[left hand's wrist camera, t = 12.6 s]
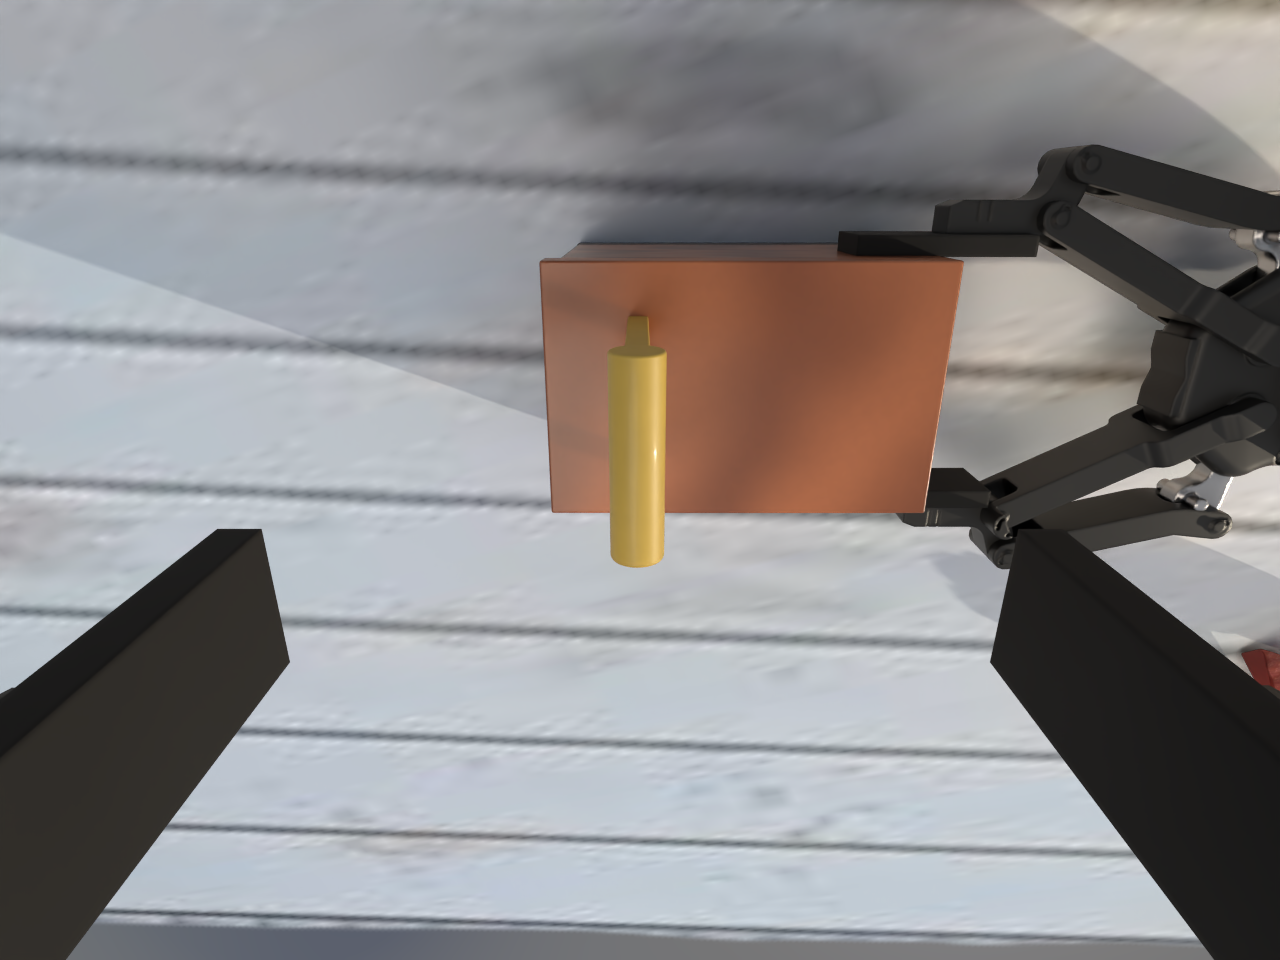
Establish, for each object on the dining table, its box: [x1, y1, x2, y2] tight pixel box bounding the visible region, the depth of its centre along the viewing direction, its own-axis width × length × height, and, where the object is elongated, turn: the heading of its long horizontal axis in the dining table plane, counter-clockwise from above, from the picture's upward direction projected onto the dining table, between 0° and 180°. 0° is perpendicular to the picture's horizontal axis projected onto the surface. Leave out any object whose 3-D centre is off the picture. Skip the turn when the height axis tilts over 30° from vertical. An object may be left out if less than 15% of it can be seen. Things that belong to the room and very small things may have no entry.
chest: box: [562, 243, 946, 258], centre depth 31 cm, size 14×9×9 cm
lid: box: [540, 258, 964, 568], centre depth 23 cm, size 14×9×8 cm, turn 90°
